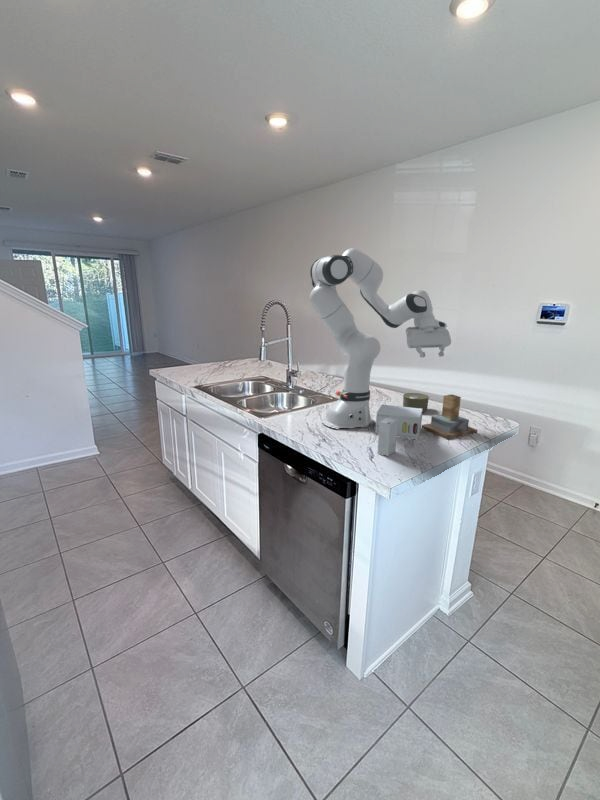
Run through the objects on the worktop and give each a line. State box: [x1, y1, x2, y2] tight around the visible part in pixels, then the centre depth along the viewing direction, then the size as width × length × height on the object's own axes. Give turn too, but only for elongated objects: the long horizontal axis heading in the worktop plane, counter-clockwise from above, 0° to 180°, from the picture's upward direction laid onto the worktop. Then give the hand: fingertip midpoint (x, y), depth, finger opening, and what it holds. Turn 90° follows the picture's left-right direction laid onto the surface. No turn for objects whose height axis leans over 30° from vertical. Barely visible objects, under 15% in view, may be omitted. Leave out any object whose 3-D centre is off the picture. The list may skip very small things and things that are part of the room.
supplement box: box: [374, 403, 423, 440], centre depth 150 cm, size 17×13×9 cm
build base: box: [421, 414, 478, 440], centre depth 150 cm, size 16×14×6 cm
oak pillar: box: [441, 394, 462, 420], centre depth 148 cm, size 4×4×9 cm
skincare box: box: [377, 418, 398, 457], centre depth 128 cm, size 6×4×12 cm
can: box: [402, 392, 430, 413], centre depth 180 cm, size 12×12×7 cm
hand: (432, 356), depth 157 cm, fingers open, 8 cm apart
